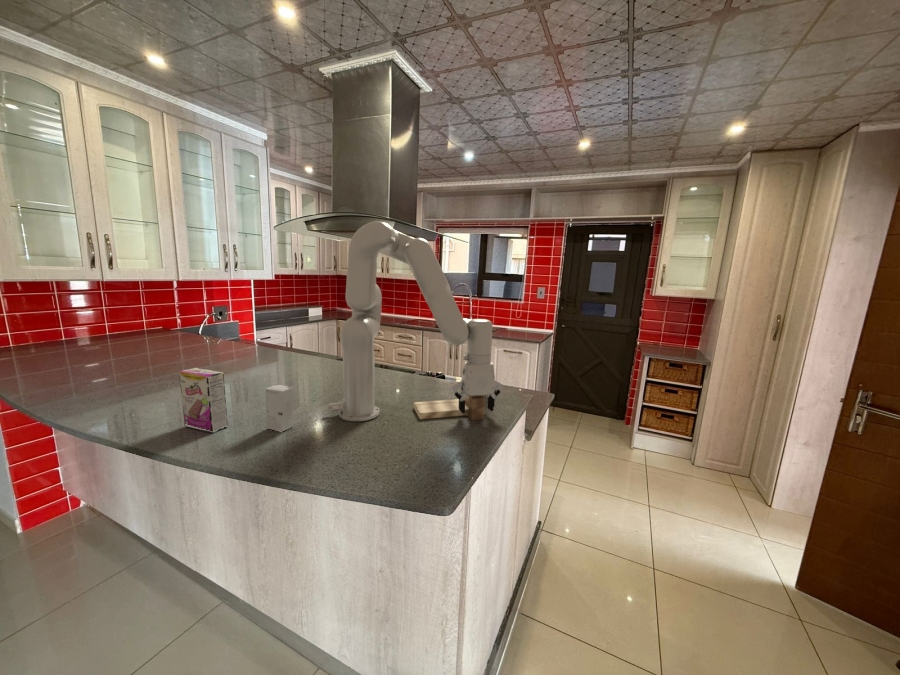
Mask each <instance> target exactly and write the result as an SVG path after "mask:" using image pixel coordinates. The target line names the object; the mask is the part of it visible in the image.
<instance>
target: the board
mask: <svg viewBox="0 0 900 675" xmlns="http://www.w3.org/2000/svg"><path fill="white" fill-rule="evenodd" d="M413 408H414V411H415V413H416V414H417V417H418V419H419V420H424V419H425V420H427V419H428V420H429V419H437V418H451V417H461V416H463V417H464V416H468V413H469V405H468V404H467V403H466V402H465V413H462V412H461V411H460V410H459V399H458V398H455V399H444V400H443V399H442V400H439V399H438V400H426V401H414V402H413ZM484 413H485V414H486V407H485V406H484Z"/></svg>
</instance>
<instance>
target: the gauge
mask: <svg viewBox="0 0 900 675" xmlns="http://www.w3.org/2000/svg"><path fill="white" fill-rule="evenodd" d="M464 401H465V402H466V403H467V404H468V405H469V413H468V415H467V416H468V417H469V418H470V419H471V421H475V419H478V420H484V419H485V414H484V407H485V404H486V402H485V398H484V397H483V396H482V395H481V396H467V397H466V398H465V399H464Z"/></svg>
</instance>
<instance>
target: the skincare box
mask: <svg viewBox="0 0 900 675" xmlns="http://www.w3.org/2000/svg"><path fill="white" fill-rule="evenodd" d="M265 420H266V421H265V422H266V423H265V424H266V425H265V426H266V427H265V428H266V429H267V428H270V429H274V430H279V431H284V430H286V429H288V428H290V427H292V426H293V427H294V387H292V386H287V385H280V384H275V385H271V386H269V387H267V388H265ZM293 427H292V428H293Z"/></svg>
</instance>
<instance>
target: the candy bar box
mask: <svg viewBox="0 0 900 675" xmlns="http://www.w3.org/2000/svg"><path fill="white" fill-rule="evenodd" d="M178 375H179V385H180V391H181V392H180V394H181V401H182V402H181V404H182V412H183V413H182V414H183V422H184V424H183V425H185V424H187V425H191V426H194V427H198V428H201V429H206V430H210V431H213V430H216V429H219V428H221V427H223V426H226V425H228V426H229V423H228V413H227V402H226V401H227V400H226V399H227V398H226V389H225V388H226V386H225V376H224V375H225V373H224V372H223V371H218V370H211V369H205V368H201V367H200V368H199V367H193V368H192V367H191V368H188V369H183V370H181V371H178Z"/></svg>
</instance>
